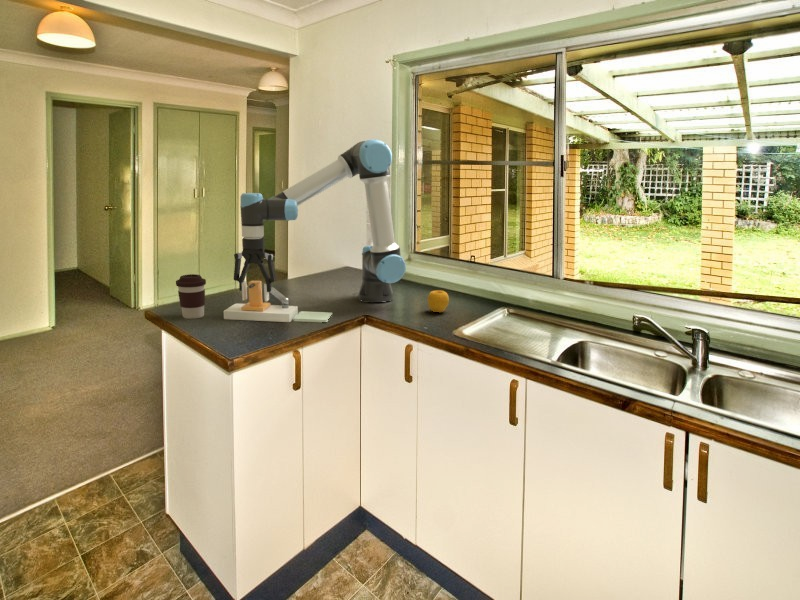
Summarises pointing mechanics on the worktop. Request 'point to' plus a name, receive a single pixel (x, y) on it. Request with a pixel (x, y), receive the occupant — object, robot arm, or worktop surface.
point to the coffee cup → (191, 295)
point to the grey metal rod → (279, 296)
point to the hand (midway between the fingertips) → (255, 299)
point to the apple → (438, 301)
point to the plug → (255, 297)
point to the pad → (312, 316)
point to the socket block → (262, 313)
